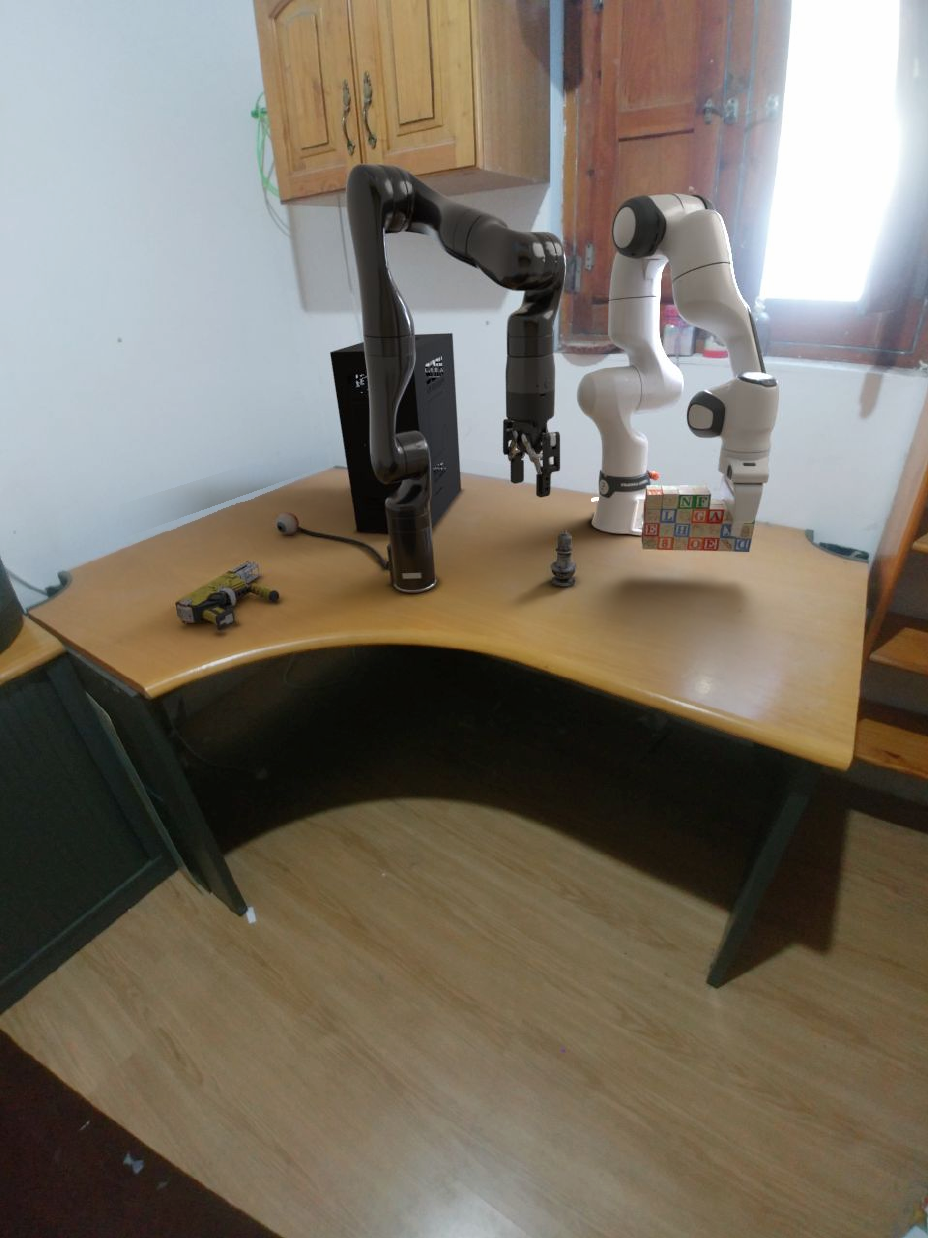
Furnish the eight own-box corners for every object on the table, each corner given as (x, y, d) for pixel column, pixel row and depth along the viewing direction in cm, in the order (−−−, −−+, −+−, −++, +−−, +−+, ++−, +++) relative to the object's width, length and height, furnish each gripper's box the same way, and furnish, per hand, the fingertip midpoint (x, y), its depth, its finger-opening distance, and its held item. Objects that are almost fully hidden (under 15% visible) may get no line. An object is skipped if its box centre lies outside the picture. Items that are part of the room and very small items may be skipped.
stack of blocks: (744, 541, 129) (754, 485, 123) (749, 553, 124) (760, 495, 118) (640, 538, 134) (645, 484, 128) (641, 549, 128) (647, 493, 122)
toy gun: (300, 570, 137) (245, 558, 141) (232, 617, 117) (169, 602, 121) (302, 588, 139) (247, 576, 143) (235, 638, 119) (173, 622, 123)
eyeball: (273, 537, 164) (268, 516, 161) (287, 528, 169) (282, 508, 166) (291, 539, 161) (286, 518, 158) (305, 530, 166) (301, 510, 163)
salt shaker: (576, 587, 129) (578, 535, 123) (548, 586, 130) (549, 534, 124) (577, 575, 134) (579, 524, 128) (550, 574, 135) (551, 523, 129)
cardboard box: (428, 534, 159) (412, 349, 137) (356, 531, 164) (329, 352, 141) (461, 489, 191) (452, 333, 168) (400, 488, 195) (384, 335, 173)
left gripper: (487, 383, 97) (490, 482, 105) (532, 395, 85) (532, 505, 93) (528, 377, 99) (528, 474, 107) (577, 389, 88) (572, 496, 96)
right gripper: (718, 449, 128) (708, 511, 135) (734, 476, 111) (722, 546, 117) (750, 449, 127) (739, 512, 133) (771, 476, 109) (757, 547, 116)
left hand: (529, 489), depth 100 cm, fingers open, 8 cm apart
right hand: (731, 528), depth 125 cm, fingers closed on stack of blocks, 6 cm apart
